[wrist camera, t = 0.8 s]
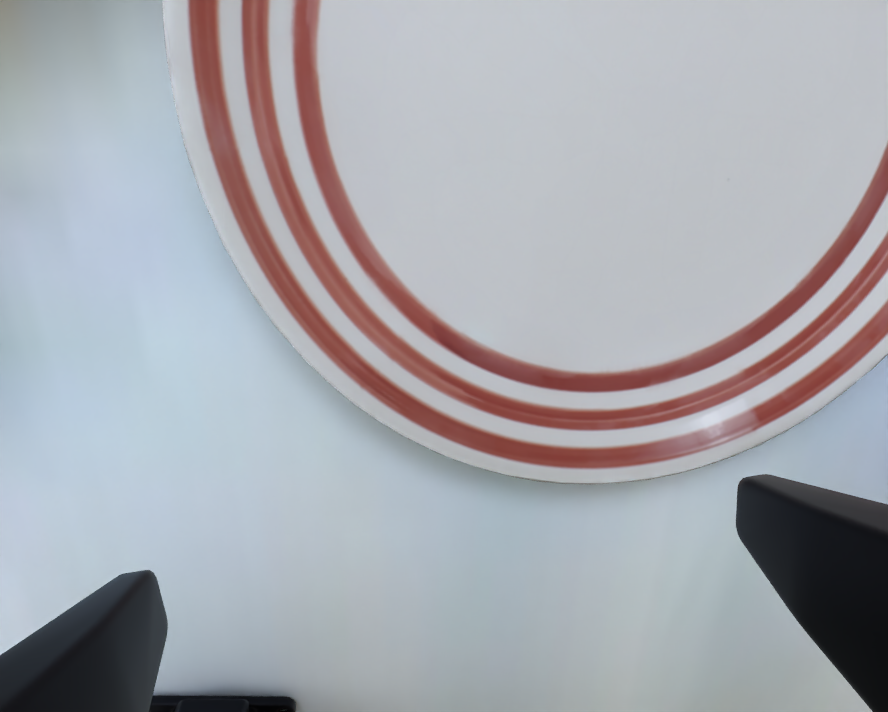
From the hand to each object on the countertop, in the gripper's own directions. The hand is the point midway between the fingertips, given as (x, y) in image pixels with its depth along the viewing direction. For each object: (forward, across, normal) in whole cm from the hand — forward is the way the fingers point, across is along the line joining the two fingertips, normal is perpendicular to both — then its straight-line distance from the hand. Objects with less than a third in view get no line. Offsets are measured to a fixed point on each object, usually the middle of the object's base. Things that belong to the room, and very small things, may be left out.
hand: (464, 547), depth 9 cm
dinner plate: (+13, -8, -8) cm, 18 cm away
